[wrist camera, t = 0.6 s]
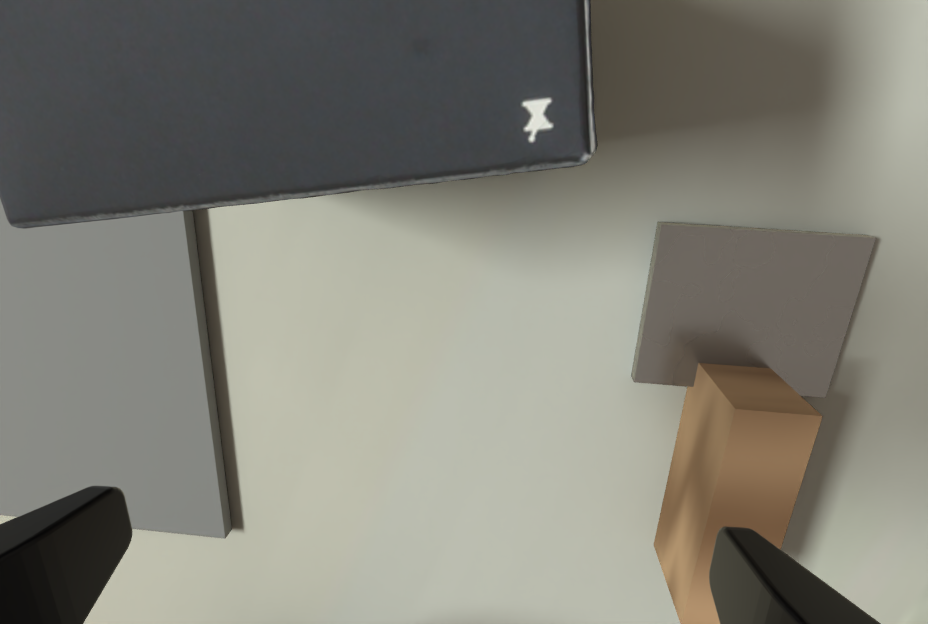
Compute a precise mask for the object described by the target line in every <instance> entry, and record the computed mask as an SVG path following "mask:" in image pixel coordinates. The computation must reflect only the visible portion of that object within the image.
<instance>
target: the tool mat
mask: <svg viewBox="0 0 928 624" xmlns="http://www.w3.org/2000/svg"><path fill="white" fill-rule="evenodd" d="M90 486H112V487H117V488H120V489H121V490H122V491H123V493H124V495H125V499H126V504H127V508H128V512H129V517H130V521H131V525H132V529H139V530H149V531H159V532H168V533H178V534H187V535H197V536H206V537H216V538H226V537H227V535H228V534H229V532H230V531H231V530H232V527H231V518H230V510H229V502H228V494H227V486H226V478H225V470H224V462H223V453H222V445H221V437H220V429H219V421H218V413H217V405H216V397H215V388H214V380H213V372H212V364H211V356H210V348H209V340H208V332H207V323H206V315H205V307H204V299H203V291H202V283H201V275H200V267H199V258H198V250H197V242H196V234H195V226H194V218H193V210H191V211H178V212H171V213H160V214H152V215H144V216H136V217H128V218H119V219H110V220H101V221H91V222H81V223H72V224H63V225H53V226H43V227H33V228H26V229H23V228H16V227H13V226H11V225H10V224H9V222H8V220H7V218H6V215H5V211H4V208H3V205H2V202H1V199H0V515H6V516H16V517H19V516H21V515H24V514H26V513H28V512H31V511H33V510H35V509H38V508H40V507H42V506H45V505H47V504H49V503H52V502H54V501H57V500H59V499H61V498H64V497H66V496H68V495H71V494H73V493H75V492H78V491H80V490H82V489H85V488H87V487H90Z"/></svg>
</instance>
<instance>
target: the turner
mask: <svg viewBox="0 0 928 624" xmlns="http://www.w3.org/2000/svg"><path fill="white" fill-rule="evenodd" d="M875 239H876V238H874V237H871V236H868V235H859V234H843V233H827V232H811V231H795V230H779V229H763V228H747V227H731V226H715V225H699V224H682V223H666V222H658V223H657V229H656V234H655V240H654V246H653V252H652V258H651V263H650V269H649V275H648V281H647V287H646V292H645V298H644V304H643V310H642V316H641V321H640V327H639V333H638V339H637V345H636V350H635V356H634V362H633V368H632V373H631V377H632V379H633V381H634V382H639V383H651V384H663V385H675V386H688V387H687V392H686V396H685V401H684V406H683V410H682V415H681V420H680V425H679V429H678V434H677V439H676V443H675V448H674V453H673V457H672V462H671V467H670V471H669V476H668V481H667V485H666V490H665V495H664V499H663V504H662V509H661V513H660V518H659V523H658V527H657V532H656V537H655V541H654V547H655V550H656V553H657V556H658V559H659V562H660V565H661V568H662V571H663V573H664V576H665V579H666V582H667V585H668V588H669V591H670V594H671V597H672V600H673V603H674V606H675V609H676V612H677V614H678V617H679V620H680V623H681V624H720V621H719V618H718V614H717V611H716V607H715V603H714V600H713V596H712V593H711V589H710V583H709V570H710V565H711V560H712V555H713V551H714V546H715V541H716V536H717V533H718V531H719V529H720V528H722V527H725V526H728V527H743V528H750V529H752V530H754V531H756V532H757V533H758V534H760V535H761V536H762V537H764V538H765V539H767V540H768V541H769V542H771V543H772V544H773V545H775V546H776V547H777V548H779V549H781V546H782V543H783V540H784V537H785V534H786V530H787V527H788V524H789V521H790V518H791V515H792V511H793V508H794V505H795V502H796V499H797V496H798V493H799V489H800V486H801V483H802V480H803V477H804V474H805V470H806V467H807V464H808V461H809V458H810V455H811V451H812V448H813V445H814V442H815V439H816V436H817V433H818V429H819V426H820V423H821V420H822V417H823V416H822V415H821V414H820V413H819V412H817V411H816V410H815V409H814V408H813V407H812V406H811V405H810V404H809V403H808V402H807V401H806V400H804V399H803V398H802V397H801V396H810V397H822V398H826V395H827V392H828V389H829V386H830V382H831V379H832V376H833V373H834V370H835V367H836V363H837V360H838V357H839V354H840V351H841V347H842V344H843V341H844V338H845V335H846V332H847V328H848V325H849V322H850V319H851V316H852V313H853V309H854V306H855V303H856V300H857V297H858V293H859V290H860V287H861V284H862V281H863V278H864V274H865V271H866V268H867V265H868V262H869V259H870V255H871V252H872V249H873V246H874V243H875Z"/></svg>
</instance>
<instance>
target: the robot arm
mask: <svg viewBox="0 0 928 624" xmlns="http://www.w3.org/2000/svg"><path fill="white" fill-rule="evenodd" d="M131 538H132V525H131V521H130V517H129V512H128V508H127V504H126V499H125V495H124V493H123V491H122V490H121V489H120V488H117V487H112V486H90V487H87V488H85V489H82V490H80V491H78V492H75V493H73V494H71V495H68V496H66V497H64V498H61V499H59V500H57V501H54V502H52V503H49V504H47V505H45V506H42V507H40V508H38V509H35V510H33V511H31V512H28V513H26V514H24V515H21V516H19V517H17V518H14V519H12V520H10V521H7V522H5V523H3V524H0V624H83V623H84V621H85V619H86V618H87V616H88V614H89V613H90V611H91V609H92V608H93V606H94V604H95V602H96V601H97V599H98V597H99V596H100V594H101V592H102V591H103V589H104V587H105V586H106V584H107V582H108V581H109V579H110V577H111V576H112V574H113V572H114V571H115V569H116V567H117V565H118V564H119V562H120V560H121V559H122V557H123V555H124V554H125V552H126V550H127V549H128V547H129V544H130V542H131ZM709 583H710V589H711V593H712V596H713V600H714V603H715V607H716V611H717V614H718V618H719V621H720V624H880V623H879V622H878V621H876V620H875V619H874V618H872V617H871V616H870V615H868V614H867V613H865V612H864V611H863V610H861V609H860V608H859V607H857V606H856V605H855V604H853V603H852V602H851V601H849V600H848V599H847V598H845V597H844V596H842V595H841V594H840V593H838V592H837V591H836V590H834V589H833V588H832V587H830V586H829V585H828V584H826V583H825V582H823V581H822V580H821V579H819V578H818V577H817V576H815V575H814V574H813V573H811V572H810V571H809V570H807V569H806V568H805V567H803V566H802V565H800V564H799V563H798V562H796V561H795V560H794V559H792V558H791V557H790V556H788V555H787V554H786V553H784V552H783V551H781V550H780V549H779V548H777V547H776V546H775V545H773V544H772V543H771V542H769V541H768V540H767V539H765V538H764V537H762V536H761V535H760V534H758V533H757V532H756V531H754V530H752V529H750V528H743V527H728V526H725V527H722V528H720V529H719V531H718V533H717V536H716V541H715V546H714V551H713V555H712V560H711V565H710V570H709Z"/></svg>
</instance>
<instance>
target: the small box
mask: <svg viewBox="0 0 928 624" xmlns="http://www.w3.org/2000/svg"><path fill="white" fill-rule="evenodd" d="M596 149H597V137H596V128H595V116H594V91H593V68H592V46H591V11H590V0H0V199H1V202H2V205H3V208H4V211H5V215H6V218H7V220H8V222H9V224H10V225H11V226H13V227H16V228H23V229H26V228H33V227H43V226H53V225H63V224H72V223H81V222H91V221H101V220H110V219H119V218H128V217H136V216H144V215H152V214H160V213H171V212H178V211H191V210H201V209H209V208H215V207H224V206H234V205H245V204H255V203H263V202H271V201H279V200H287V199H297V198H308V197H317V196H323V195H330V194H339V193H348V192H354V191H360V190H369V189H386V188H394V187H401V186H409V185H417V184H432V183H439V182H445V181H454V180H465V179H474V178H480V177H486V176H496V175H507V174H511V173H520V172H530V171H540V170H548V169H556V168H566V167H574V166H579V165H583V164H585V163H587V161H588V160H589V159H590V158H591V157H592V156H593V155H594V154H595V152H596Z"/></svg>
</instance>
